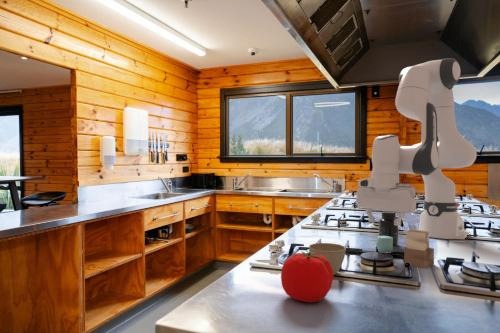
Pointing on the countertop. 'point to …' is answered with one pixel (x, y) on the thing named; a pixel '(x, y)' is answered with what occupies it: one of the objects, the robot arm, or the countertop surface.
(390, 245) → the green cube
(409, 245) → the tower top
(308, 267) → the tomato
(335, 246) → the flower pot
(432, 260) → the tower base
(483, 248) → the countertop surface
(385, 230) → the supplement bottle
